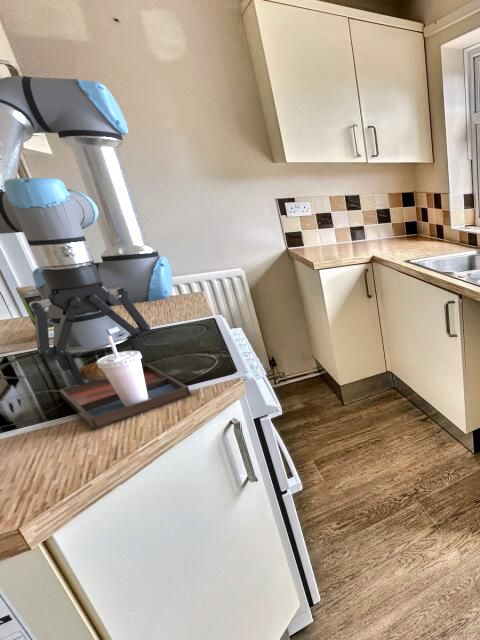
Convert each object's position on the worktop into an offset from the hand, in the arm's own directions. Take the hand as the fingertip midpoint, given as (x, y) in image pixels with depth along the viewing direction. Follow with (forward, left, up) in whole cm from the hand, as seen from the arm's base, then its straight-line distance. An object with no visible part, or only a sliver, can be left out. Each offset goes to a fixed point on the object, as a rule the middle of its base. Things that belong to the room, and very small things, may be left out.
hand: (112, 373), depth 87 cm
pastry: (0, 0, 0) cm, 0 cm away
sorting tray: (+4, 0, -4) cm, 6 cm away
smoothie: (+11, 0, -4) cm, 11 cm away
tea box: (-67, +7, -4) cm, 67 cm away
